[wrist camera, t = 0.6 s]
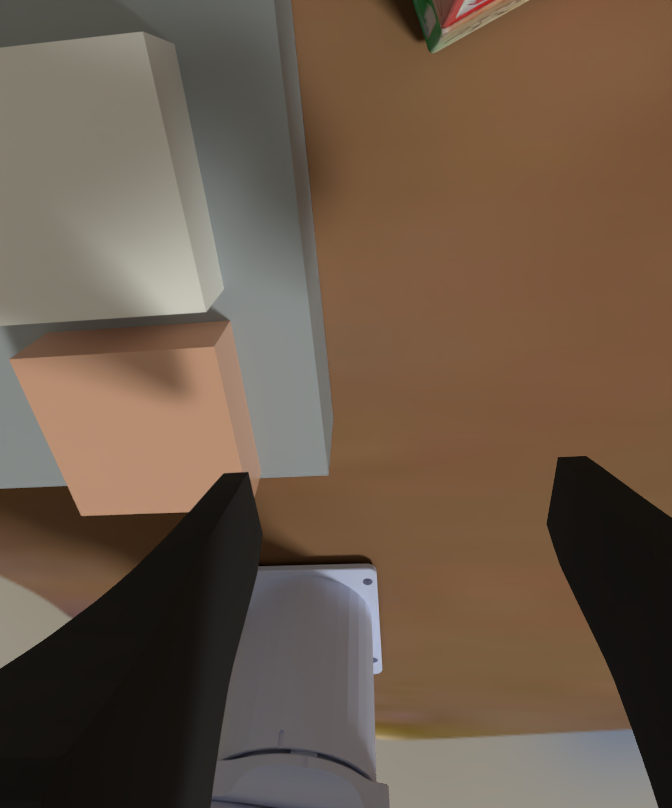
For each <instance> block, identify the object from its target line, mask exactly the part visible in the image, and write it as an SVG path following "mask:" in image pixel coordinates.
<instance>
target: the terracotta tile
mask: <svg viewBox="0 0 672 808" xmlns="http://www.w3.org/2000/svg"><path fill="white" fill-rule="evenodd" d="M9 361H10V363H11V365H12V367H13V370H14V372H15V374H16V376H17V378H18V380H19V382H20V385H21V387H22V389H23V391H24V393H25V395H26V398H27V400H28V402H29V404H30V406H31V408H32V411H33V413H34V415H35V417H36V419H37V421H38V424H39V426H40V428H41V430H42V432H43V434H44V436H45V439H46V441H47V443H48V445H49V447H50V449H51V452H52V454H53V456H54V458H55V460H56V462H57V465H58V467H59V469H60V471H61V473H62V475H63V478H64V480H65V482H66V484H67V486H68V488H69V490H70V493H71V495H72V497H73V499H74V501H75V503H76V506H77V508H78V510H79V512H80V514H81V516H94V515H122V514H150V513H179V512H190V510H191V509H192V508H193V507H194V506H195V505H196V504H197V503H198V501H199V500H200V499H201V498H202V497H203V496H204V495H205V493H206V492H207V491H208V490H209V489H210V488H211V487H212V485H213V484H214V483H215V482H216V481H217V480H218V479H219V478H220V477H221V476H222V475H223V473H237V472H249V477H250V481H251V486H252V490H253V494H254V497H255V494H256V490H257V486H258V483H259V479H260V475H261V469H260V464H259V459H258V454H257V449H256V444H255V439H254V434H253V430H252V425H251V420H250V415H249V410H248V405H247V400H246V395H245V390H244V385H243V380H242V375H241V370H240V365H239V360H238V355H237V350H236V346H235V341H234V336H233V331H232V326H231V321H216V322H201V323H186V324H171V325H155V326H140V327H125V328H110V329H95V330H79V331H64V332H49V333H46V334H44V335H43V336H42V337H40V338H39V339H37V340H36V341H34V342H33V343H32V344H30V345H29V346H27V347H26V348H24V349H23V350H22V351H20V352H19V353H17V354H16V355H14V356H13V357H11V358H10V359H9Z"/></svg>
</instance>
